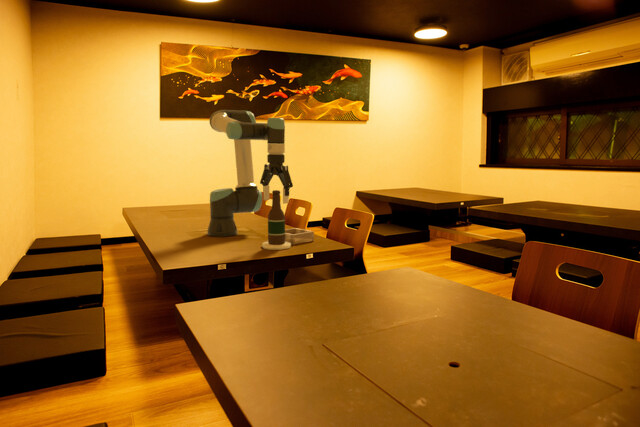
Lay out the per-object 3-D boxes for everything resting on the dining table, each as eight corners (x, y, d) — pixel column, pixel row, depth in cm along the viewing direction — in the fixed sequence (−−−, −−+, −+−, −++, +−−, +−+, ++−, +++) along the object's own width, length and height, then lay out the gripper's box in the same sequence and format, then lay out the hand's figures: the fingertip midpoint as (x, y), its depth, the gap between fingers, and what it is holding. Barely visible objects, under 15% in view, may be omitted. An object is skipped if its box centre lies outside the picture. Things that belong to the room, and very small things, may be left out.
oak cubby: (274, 240, 213) (274, 231, 212) (295, 236, 222) (295, 227, 221) (292, 244, 203) (292, 235, 203) (313, 240, 213) (313, 231, 212)
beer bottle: (286, 241, 202) (286, 189, 198) (283, 245, 194) (283, 191, 191) (270, 241, 203) (269, 189, 199) (266, 244, 195) (265, 191, 192)
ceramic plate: (256, 246, 199) (256, 243, 199) (278, 242, 208) (278, 239, 208) (274, 251, 190) (274, 247, 189) (296, 246, 199) (296, 243, 198)
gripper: (252, 153, 199) (252, 199, 202) (287, 154, 181) (287, 205, 185) (265, 152, 204) (265, 198, 207) (301, 154, 187) (300, 204, 190)
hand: (275, 201), depth 196 cm, fingers open, 13 cm apart
